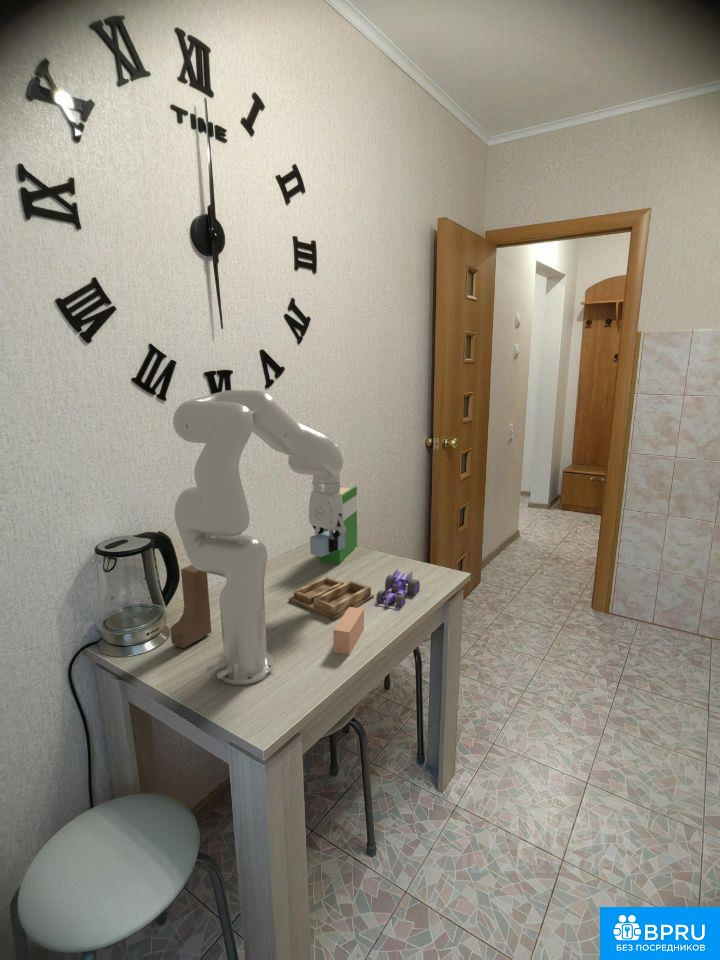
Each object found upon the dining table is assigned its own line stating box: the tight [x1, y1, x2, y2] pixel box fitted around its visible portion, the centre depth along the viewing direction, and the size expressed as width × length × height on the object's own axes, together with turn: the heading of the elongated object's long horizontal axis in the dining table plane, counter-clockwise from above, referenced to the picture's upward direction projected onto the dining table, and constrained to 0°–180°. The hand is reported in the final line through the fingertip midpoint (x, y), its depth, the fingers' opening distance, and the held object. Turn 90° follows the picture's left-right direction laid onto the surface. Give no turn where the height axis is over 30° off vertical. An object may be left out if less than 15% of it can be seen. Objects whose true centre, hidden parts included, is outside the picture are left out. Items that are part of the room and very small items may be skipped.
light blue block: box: [309, 530, 345, 558], centre depth 140 cm, size 10×4×5 cm, turn 139°
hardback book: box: [319, 485, 358, 565], centre depth 175 cm, size 18×7×24 cm, turn 161°
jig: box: [288, 576, 375, 621], centre depth 143 cm, size 17×18×4 cm
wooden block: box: [169, 564, 212, 649], centre depth 121 cm, size 9×4×18 cm, turn 149°
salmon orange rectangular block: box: [332, 607, 365, 656], centre depth 121 cm, size 12×4×6 cm, turn 163°
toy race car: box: [374, 569, 421, 612], centre depth 143 cm, size 10×15×6 cm, turn 154°
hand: (327, 548), depth 141 cm, fingers closed on light blue block, 4 cm apart
